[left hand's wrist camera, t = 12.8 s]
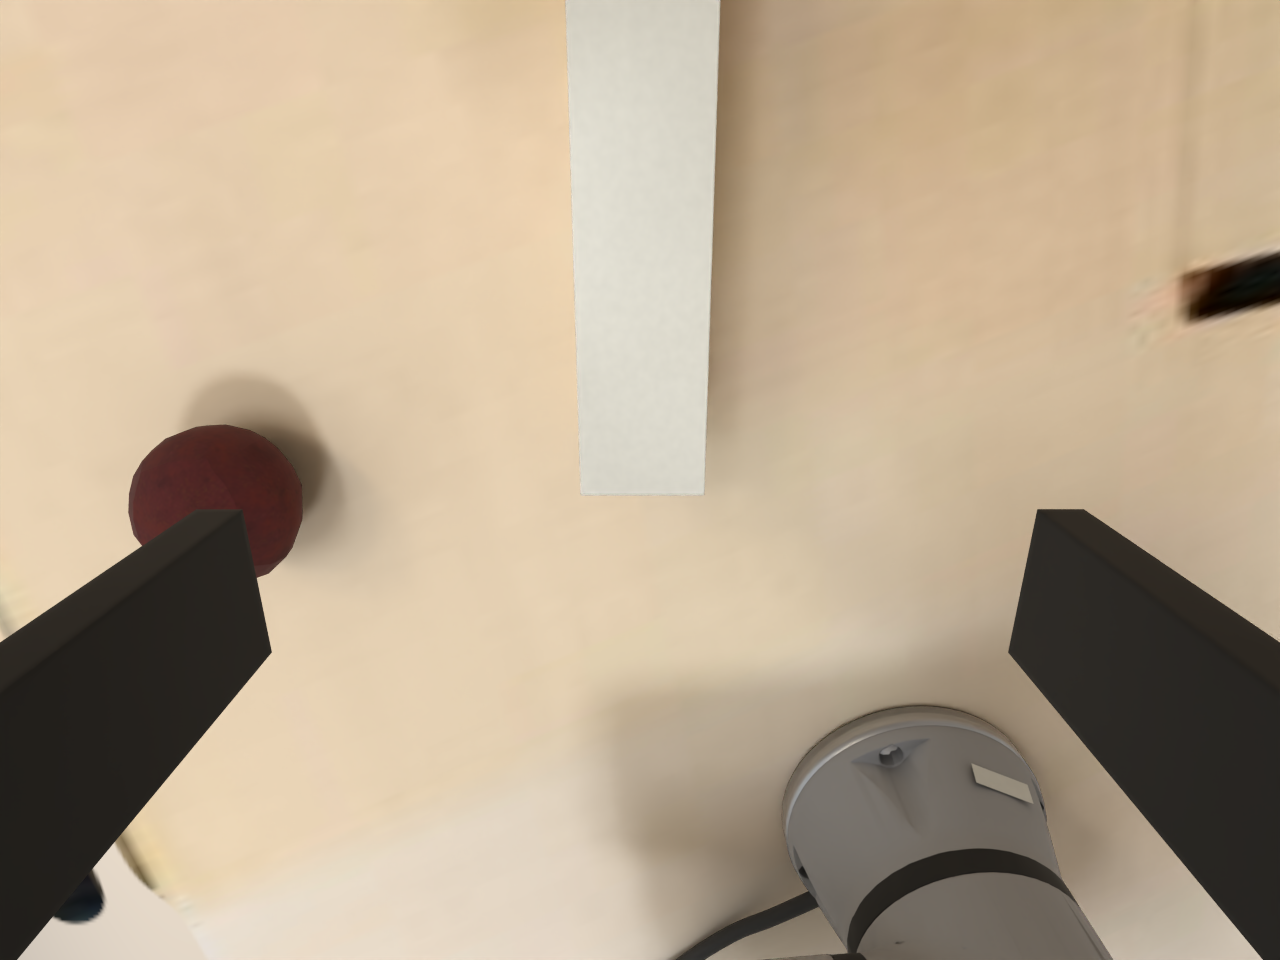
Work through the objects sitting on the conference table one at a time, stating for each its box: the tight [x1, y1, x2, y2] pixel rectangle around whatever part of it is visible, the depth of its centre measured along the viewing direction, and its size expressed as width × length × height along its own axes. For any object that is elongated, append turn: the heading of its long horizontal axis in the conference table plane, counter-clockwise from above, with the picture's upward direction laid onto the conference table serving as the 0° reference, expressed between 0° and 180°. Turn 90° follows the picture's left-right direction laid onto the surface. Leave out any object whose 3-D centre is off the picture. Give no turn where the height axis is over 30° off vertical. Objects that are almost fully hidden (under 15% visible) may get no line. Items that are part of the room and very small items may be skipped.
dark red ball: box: [128, 425, 303, 578], centre depth 35 cm, size 7×8×7 cm
